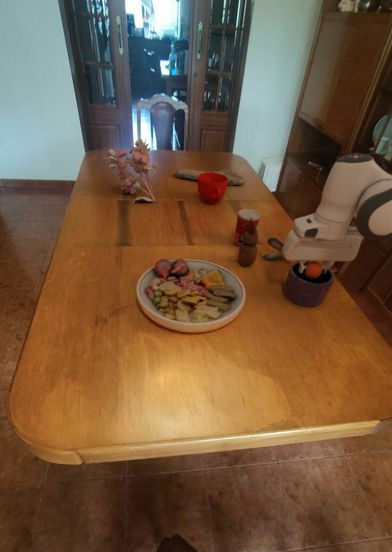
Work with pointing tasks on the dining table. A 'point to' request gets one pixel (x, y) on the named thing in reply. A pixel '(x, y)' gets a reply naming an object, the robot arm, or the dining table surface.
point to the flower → (138, 165)
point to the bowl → (190, 295)
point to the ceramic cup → (212, 187)
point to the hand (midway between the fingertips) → (311, 272)
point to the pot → (307, 287)
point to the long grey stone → (232, 177)
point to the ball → (313, 270)
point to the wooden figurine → (248, 246)
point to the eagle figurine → (276, 245)
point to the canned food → (245, 224)
